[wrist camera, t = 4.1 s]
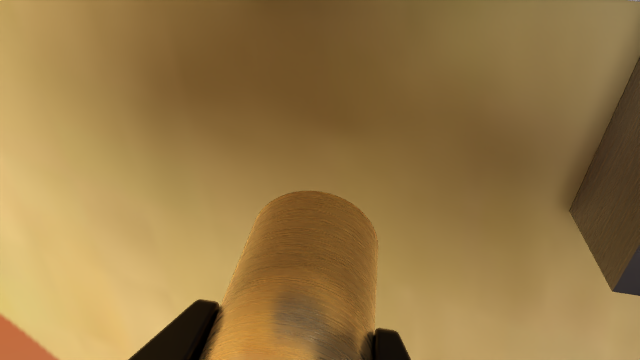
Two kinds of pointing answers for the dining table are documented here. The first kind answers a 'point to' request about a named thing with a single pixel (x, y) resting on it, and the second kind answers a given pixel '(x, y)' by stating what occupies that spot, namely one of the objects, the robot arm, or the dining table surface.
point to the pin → (301, 285)
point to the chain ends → (615, 196)
